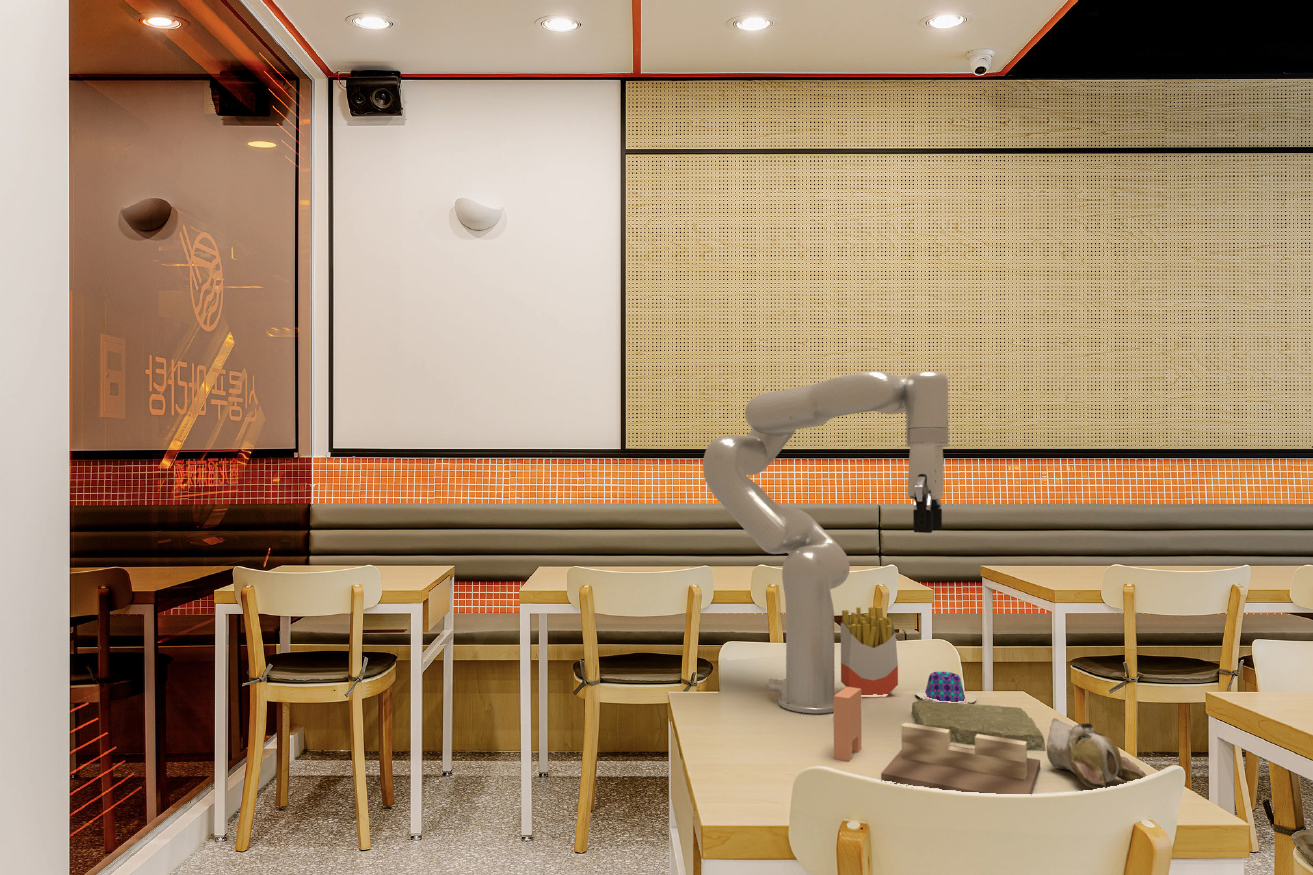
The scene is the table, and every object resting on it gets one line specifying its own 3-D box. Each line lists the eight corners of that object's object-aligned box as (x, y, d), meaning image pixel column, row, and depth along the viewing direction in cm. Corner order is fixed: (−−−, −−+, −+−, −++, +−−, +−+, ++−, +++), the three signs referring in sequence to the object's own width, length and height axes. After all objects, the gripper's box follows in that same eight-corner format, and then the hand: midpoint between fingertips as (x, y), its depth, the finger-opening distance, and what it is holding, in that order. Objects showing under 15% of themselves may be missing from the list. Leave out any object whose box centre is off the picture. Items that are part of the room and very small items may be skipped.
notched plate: (833, 758, 133) (833, 695, 133) (846, 746, 139) (846, 686, 139) (848, 761, 132) (848, 698, 132) (861, 748, 138) (861, 688, 138)
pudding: (970, 694, 174) (970, 669, 175) (981, 709, 163) (980, 682, 163) (911, 690, 177) (911, 666, 177) (917, 705, 165) (917, 679, 165)
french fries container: (898, 696, 170) (898, 609, 171) (849, 699, 168) (849, 610, 169) (888, 691, 175) (888, 606, 176) (840, 693, 173) (840, 607, 174)
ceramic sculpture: (1080, 705, 133) (1161, 739, 119) (1079, 758, 133) (1159, 798, 119) (1026, 710, 130) (1101, 746, 116) (1024, 764, 130) (1100, 807, 116)
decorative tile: (911, 715, 159) (911, 696, 159) (1022, 722, 155) (1022, 703, 155) (922, 746, 141) (922, 725, 141) (1048, 755, 137) (1048, 733, 137)
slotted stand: (881, 781, 123) (880, 739, 123) (910, 745, 139) (910, 708, 140) (1026, 809, 113) (1026, 763, 113) (1040, 767, 129) (1039, 727, 130)
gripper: (915, 441, 162) (916, 527, 161) (896, 437, 147) (897, 532, 146) (955, 440, 159) (956, 529, 158) (940, 436, 143) (941, 534, 143)
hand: (928, 530), depth 152 cm, fingers open, 9 cm apart
